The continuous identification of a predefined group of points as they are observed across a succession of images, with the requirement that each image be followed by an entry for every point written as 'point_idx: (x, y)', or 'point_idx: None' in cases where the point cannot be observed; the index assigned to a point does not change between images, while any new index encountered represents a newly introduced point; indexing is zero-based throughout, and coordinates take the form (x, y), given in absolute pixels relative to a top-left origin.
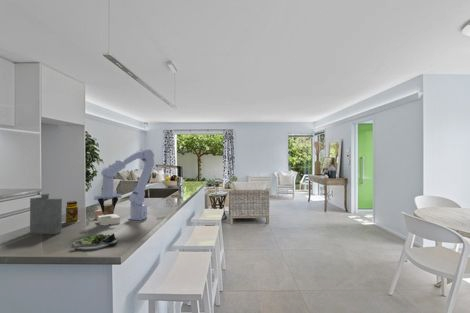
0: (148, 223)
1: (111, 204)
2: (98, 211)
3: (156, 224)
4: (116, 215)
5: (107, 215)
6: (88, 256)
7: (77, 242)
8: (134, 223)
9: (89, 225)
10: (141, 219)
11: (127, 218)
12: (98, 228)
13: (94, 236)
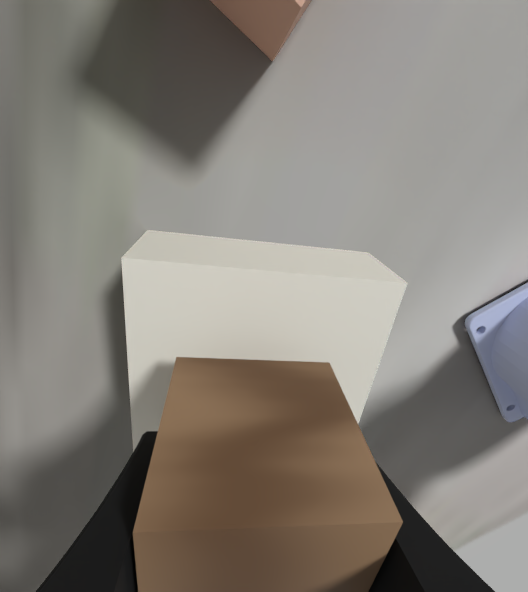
0: (463, 504)
1: (364, 568)
2: None
3: (473, 538)
4: (360, 380)
5: (266, 316)
6: None
7: None
8: (402, 467)
9: (33, 337)
10: (515, 419)
11: (470, 323)
12: (110, 470)
13: None
